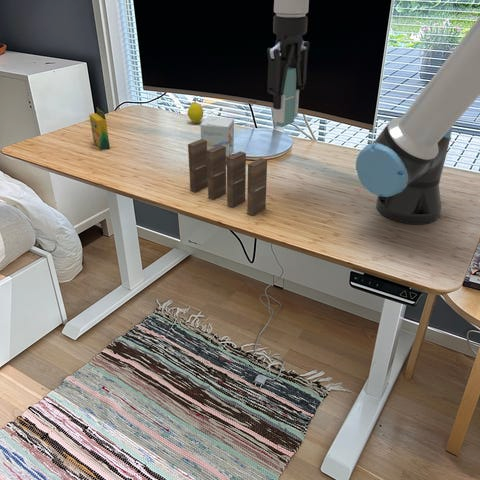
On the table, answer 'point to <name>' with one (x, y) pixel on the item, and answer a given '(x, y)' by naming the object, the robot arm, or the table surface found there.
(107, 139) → the crayon box
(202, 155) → the domino
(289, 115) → the domino
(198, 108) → the fruit
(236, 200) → the domino
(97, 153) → the table surface
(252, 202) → the domino
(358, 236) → the table surface
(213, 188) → the domino
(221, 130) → the ink box
